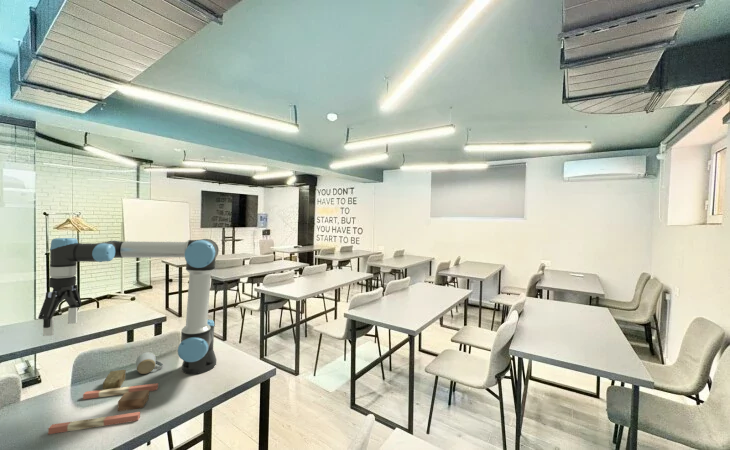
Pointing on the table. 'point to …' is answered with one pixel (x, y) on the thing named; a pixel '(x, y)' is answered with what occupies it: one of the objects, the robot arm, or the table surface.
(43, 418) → the table surface
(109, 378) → the stone block
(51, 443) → the table surface
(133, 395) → the walnut block
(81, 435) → the table surface
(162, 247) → the robot arm
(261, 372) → the table surface
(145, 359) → the ceramic mug
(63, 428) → the rails
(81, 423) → the rails
